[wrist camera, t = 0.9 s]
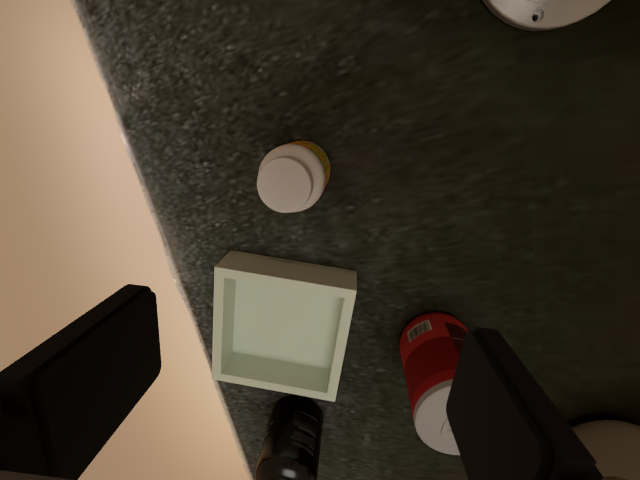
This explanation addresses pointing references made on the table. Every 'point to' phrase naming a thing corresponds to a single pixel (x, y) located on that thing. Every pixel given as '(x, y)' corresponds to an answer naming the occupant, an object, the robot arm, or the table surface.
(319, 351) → the bin
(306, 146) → the supplement bottle
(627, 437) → the canister
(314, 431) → the supplement bottle
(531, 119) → the table surface
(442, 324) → the canned food
